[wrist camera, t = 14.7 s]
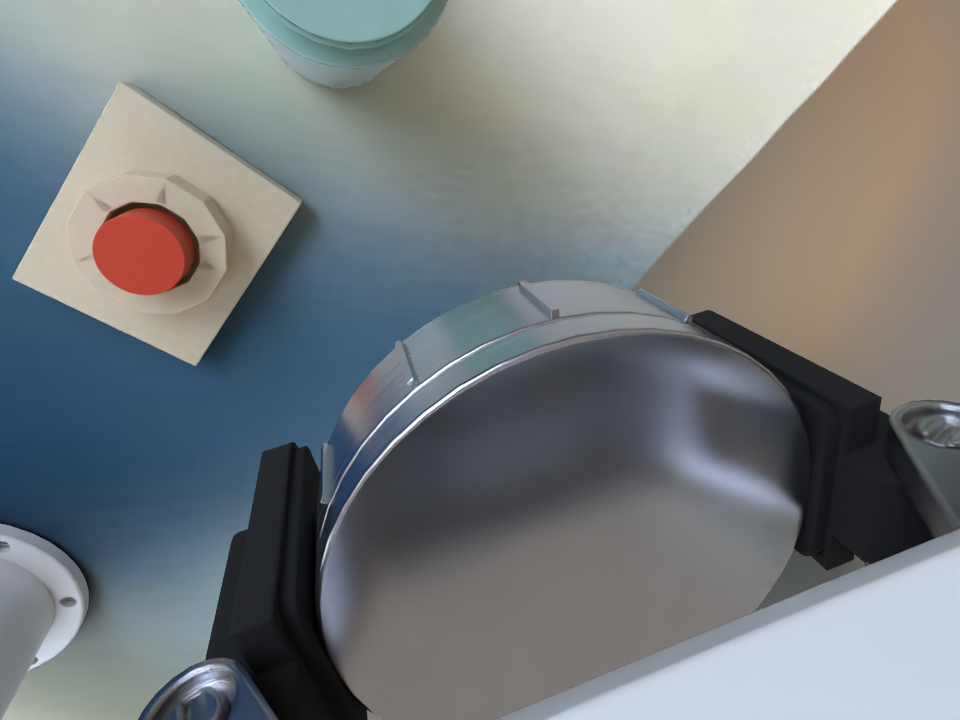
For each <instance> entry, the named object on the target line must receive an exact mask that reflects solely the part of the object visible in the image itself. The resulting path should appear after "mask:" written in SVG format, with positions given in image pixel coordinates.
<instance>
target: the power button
mask: <svg viewBox="0 0 960 720" xmlns="http://www.w3.org/2000/svg"><path fill="white" fill-rule="evenodd" d="M92 252H93V257H94V260H95V263H96V265H97V267H98V269H99V270H100V272H101V273H102V274H103V276H104V277H105V278H106V279H107V280H108V281H109V282H111V283H112V284H113V285H115V286H116V287H118V288H120V289H122V290H124V291H126V292H129V293H133V294H137V295H156V294H160V293H163V292H166V291H168V290H170V289H171V288H173V287H174V286H175V285H176V284H177V283H178V282H179V281H180V280H181V279H182V277H183V276H184V275H185V274H186V273H187V272H188V270H189V269H190V268H191V266H192V264H193V260H194V255H195V249H194V244H193V240H192V238H191V236H190V234H189V232H188V231H187V229H186V228H185V227H184V226H183V225H182V224H181V223H180V222H179V221H178V220H177V219H176V218H174V217H173V216H171V215H169V214H167V213H165V212H163V211H160V210H156V209H151V208H137V209H132V210H130V211H127V212H125V213H123V214H121V215H119V216H116V217H114V218H112V219H110V220H109V221H107V222H106V223H104V224H103V225H102V226H101V227H100V228H99V229H98V231H97V232H96V234H95V236H94V240H93V245H92Z"/></svg>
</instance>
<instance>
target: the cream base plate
mask: <svg viewBox="0 0 960 720" xmlns="http://www.w3.org/2000/svg"><path fill="white" fill-rule="evenodd" d="M301 203H302V199H301V198H299V197H298V196H296V195H295V194H293V193H292V192H291V191H289V190H288V189H286V188H285V187H283V186H282V185H280V184H279V183H277V182H276V181H274V180H273V179H271V178H270V177H268V176H267V175H266V174H264V173H263V172H261V171H260V170H258V169H257V168H255V167H254V166H252V165H251V164H249V163H248V162H246V161H245V160H243V159H242V158H241V157H239V156H238V155H236V154H235V153H233V152H232V151H230V150H229V149H227V148H226V147H224V146H223V145H221V144H220V143H218V142H217V141H216V140H214V139H213V138H211V137H210V136H208V135H207V134H205V133H204V132H202V131H201V130H199V129H198V128H196V127H195V126H193V125H192V124H191V123H189V122H188V121H186V120H185V119H183V118H182V117H180V116H179V115H177V114H176V113H174V112H173V111H171V110H170V109H168V108H167V107H166V106H164V105H163V104H161V103H160V102H158V101H157V100H155V99H154V98H152V97H151V96H149V95H148V94H146V93H145V92H143V91H142V90H141V89H139V88H138V87H136V86H135V85H133V84H132V83H127V82H121V81H120V82H119V84H118V85H117V87H116V89H115V91H114V93H113V95H112V96H111V98H110V100H109V102H108V104H107V106H106V107H105V109H104V111H103V113H102V115H101V116H100V118H99V120H98V122H97V124H96V126H95V127H94V129H93V131H92V133H91V135H90V137H89V138H88V140H87V142H86V144H85V146H84V147H83V149H82V151H81V153H80V155H79V157H78V158H77V160H76V162H75V164H74V166H73V168H72V169H71V171H70V173H69V175H68V177H67V179H66V180H65V182H64V184H63V186H62V188H61V189H60V191H59V193H58V195H57V197H56V199H55V200H54V202H53V204H52V206H51V208H50V210H49V211H48V213H47V215H46V217H45V219H44V221H43V222H42V224H41V226H40V228H39V230H38V231H37V233H36V235H35V237H34V239H33V241H32V242H31V244H30V246H29V248H28V250H27V252H26V253H25V255H24V257H23V259H22V261H21V262H20V264H19V266H18V268H17V270H16V272H15V273H14V275H13V279H14V280H16V281H18V282H20V283H23V284H25V285H27V286H29V287H31V288H33V289H35V290H37V291H39V292H41V293H43V294H46V295H48V296H50V297H52V298H54V299H56V300H58V301H60V302H62V303H64V304H66V305H69V306H71V307H73V308H75V309H77V310H79V311H81V312H83V313H85V314H87V315H89V316H92V317H94V318H96V319H98V320H100V321H102V322H104V323H106V324H108V325H110V326H112V327H115V328H117V329H119V330H121V331H123V332H125V333H127V334H129V335H131V336H133V337H135V338H138V339H140V340H142V341H144V342H146V343H148V344H150V345H152V346H154V347H156V348H158V349H161V350H163V351H165V352H167V353H169V354H171V355H173V356H175V357H177V358H179V359H181V360H184V361H186V362H188V363H190V364H192V365H194V366H196V365H197V364H198V362H199V361H200V359H201V358H202V356H203V355H204V353H205V352H206V350H207V349H208V347H209V346H210V344H211V342H212V341H213V339H214V338H215V336H216V335H217V333H218V332H219V330H220V329H221V327H222V326H223V324H224V322H225V321H226V319H227V318H228V316H229V315H230V313H231V312H232V310H233V309H234V307H235V306H236V304H237V302H238V301H239V299H240V298H241V296H242V295H243V293H244V292H245V290H246V289H247V287H248V286H249V284H250V282H251V281H252V279H253V278H254V276H255V275H256V273H257V272H258V270H259V269H260V267H261V266H262V264H263V262H264V261H265V259H266V258H267V256H268V255H269V253H270V252H271V250H272V249H273V247H274V246H275V244H276V242H277V241H278V239H279V238H280V236H281V235H282V233H283V232H284V230H285V229H286V227H287V226H288V224H289V222H290V221H291V219H292V218H293V216H294V215H295V213H296V212H297V210H298V209H299V207H300V205H301ZM137 208H151V209H156V210H160V211H163V212H165V213H167V214H169V215H171V216H173V217H174V218H176V219H177V220H178V221H179V222H180V223H181V224H182V225H183V226H184V227H185V228H186V229H187V231H188V232H189V234H190V236H191V238H192V240H193V244H194V249H195V255H194V260H193V264H192V266H191V268H190V269H189V270H188V272H187V273H186V274H185V275H184V276H183V277H182V279H181V280H180V281H179V282H178V283H177V284H176V285H175V286H174V287H173V288H171V289H170V290H168V291H166V292H163V293H160V294H156V295H137V294H133V293H129V292H126V291H124V290H122V289H120V288H118V287H116V286H115V285H113V284H112V283H111V282H109V281H108V280H107V279H106V278H105V277H104V276H103V274H102V273H101V272H100V270H99V269H98V267H97V265H96V263H95V260H94V257H93V252H92V245H93V240H94V236H95V234H96V232H97V231H98V229H99V228H100V227H101V226H102V225H103V224H104V223H106V222H107V221H109V220H110V219H112V218H114V217H116V216H119V215H121V214H123V213H125V212H127V211H130V210H132V209H137Z"/></svg>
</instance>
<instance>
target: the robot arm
mask: <svg viewBox="0 0 960 720" xmlns="http://www.w3.org/2000/svg"><path fill="white" fill-rule="evenodd" d="M690 316H692V317H693V320H692V322H693V323H695V324H697V325H698V326H700V327H702V328H704V329H705V330H707V331H709V332H711V333H712V334H714V335H716V336H717V337H719V338H721V339H723V340H725V341H727V342H728V343H730V344H732V345H734V346H735V347H737V348H739V349H741V350H742V351H744V352H746V353H747V354H749V355H750V356H751V357H753V358H754V359H756V360H757V361H758V362H760V363H761V364H762V365H764V366H765V367H767V368H768V369H769V370H770V371H771V372H772V374H773V375H774V376H775V377H776V378H777V379H778V380H779V381H780V382H781V383H782V384H783V385H784V387H785V388H786V390H787V391H788V393H789V394H790V396H791V398H792V399H793V401H794V403H795V404H796V406H797V408H798V409H799V411H800V414H801V416H802V419H803V422H804V425H805V427H806V430H807V433H808V438H809V444H810V449H811V455H812V479H811V488H810V496H809V504H808V508H807V512H806V516H805V519H804V523H803V527H802V529H801V532H800V534H799V537H798V539H797V542H796V544H795V547H794V549H796V550H797V551H798V552H799V553H800V554H802V555H804V556H812V557H813V558H814V559H815V560H816V561H817V562H818V563H820V565H821V566H823V567H824V568H825V569H826V570H830V569H832V568H835V567H837V566H840V565H842V564H845V563H847V562H850V561H852V560H853V558H854V554H855V555H856V556H857V557H859V558H860V559H861V560H862V561H863V562H865V567H864V568H861V569H859V570H856V571H854V572H851V573H849V574H846V575H844V576H842V577H839V578H837V579H834V580H832V581H829V582H827V583H824V584H822V585H819V586H817V587H814V588H812V589H809V590H807V591H804V592H802V593H800V594H797V595H795V596H792V597H790V598H787V599H785V600H783V601H780V602H778V603H775V604H773V605H770V606H768V607H766V608H763V609H761V610H758V611H756V612H753V613H751V614H749V615H746V616H744V617H741V618H739V619H736V620H734V621H732V622H729V623H727V624H724V625H722V626H719V627H717V628H715V629H712V630H710V631H707V632H705V633H703V634H700V635H698V636H695V637H693V638H690V639H688V640H686V641H683V642H681V643H678V644H676V645H674V646H671V647H669V648H666V649H664V650H662V651H659V652H657V653H654V654H652V655H649V656H647V657H645V658H642V659H640V660H637V661H635V662H633V663H630V664H628V665H625V666H623V667H620V668H618V669H616V670H613V671H611V672H608V673H606V674H604V675H601V676H599V677H597V678H594V679H592V680H589V681H587V682H585V683H582V684H580V685H578V686H575V687H573V688H570V689H568V690H566V691H563V692H561V693H558V694H556V695H554V696H551V697H549V698H547V699H544V700H542V701H539V702H537V703H535V704H532V705H530V706H528V707H525V708H523V709H520V710H518V711H516V712H513V713H511V714H509V715H506V716H504V717H501V718H499V719H497V720H960V403H954V402H949V401H940V400H920V401H911V402H908V403H905V404H902V405H899V406H898V407H896V408H895V409H894V410H892V412H891V414H890V415H888V414H886V413H884V412H882V411H880V404H881V397H880V396H878V395H876V394H874V393H872V392H870V391H868V390H866V389H864V388H862V387H860V386H858V385H856V384H854V383H852V382H850V381H848V380H847V379H845V378H843V377H841V376H839V375H837V374H835V373H833V372H831V371H829V370H827V369H825V368H823V367H821V366H819V365H817V364H815V363H813V362H811V361H809V360H807V359H805V358H803V357H801V356H799V355H797V354H795V353H793V352H791V351H790V350H787V349H786V348H784V347H781V346H780V345H778V344H776V343H774V342H772V341H770V340H768V339H766V338H764V337H762V336H760V335H758V334H756V333H754V332H752V331H750V330H748V329H746V328H744V327H742V326H741V325H739V324H737V323H735V322H733V321H730V320H729V319H727V318H725V317H723V316H721V315H719V314H717V313H715V312H713V311H710V310H706V311H703V312H700V313H696V314H693V315H690ZM319 478H320V472H319V469H318V467H317V465H316V463H315V461H314V458H313V456H312V454H311V452H310V450H309V448H308V447H307V446H304V447H301V448H298V447H297V445H296V444H295V443H294V442H292V443H289V444H285V445H282V446H279V447H276V448H273V449H270V450H267V451H264V452H263V453H262V457H261V462H260V468H259V473H258V478H257V484H256V489H255V494H254V500H253V505H252V510H251V516H250V521H249V526H248V529H247V530H244V531H241V532H238V533H237V534H235V535H234V537H233V539H232V542H231V546H230V551H229V555H228V560H227V564H226V569H225V573H224V578H223V582H222V587H221V591H220V596H219V601H218V605H217V610H216V614H215V619H214V623H213V628H212V632H211V637H210V641H209V646H208V650H207V655H206V659H205V661H203V662H200V663H198V664H195V665H193V666H191V667H189V668H187V669H186V670H184V671H183V672H181V673H180V674H178V675H177V676H175V677H174V678H172V679H171V680H170V681H169V682H168V683H167V684H166V685H165V686H164V687H163V688H162V689H161V690H160V691H158V692H157V693H156V695H155V696H154V697H153V698H152V700H151V701H150V702H149V704H148V705H147V706H146V707H145V709H144V710H143V711H142V713H141V715H140V717H139V719H138V720H367V709H366V708H365V707H364V706H363V705H362V704H360V703H359V702H358V701H357V700H356V699H355V698H354V697H352V695H351V694H350V693H349V692H348V690H347V689H346V688H345V687H344V685H343V684H342V683H341V681H340V679H339V677H338V676H337V674H336V672H335V670H334V668H333V667H332V665H331V663H330V661H329V659H328V657H327V656H326V654H325V651H324V648H323V645H322V642H321V639H320V635H319V631H318V628H317V616H316V603H315V586H316V542H317V498H318V488H319ZM88 607H89V591H88V587H87V583H86V579H85V578H84V576H83V574H82V573H81V571H80V569H79V567H78V566H77V565H76V564H75V563H74V562H73V561H72V559H71V558H70V557H69V556H68V555H67V554H66V553H64V552H63V551H62V550H60V549H59V548H58V547H56V546H55V545H53V544H52V543H51V542H49V541H47V540H45V539H43V538H41V537H39V536H37V535H35V534H33V533H30V532H27V531H24V530H21V529H18V528H15V527H12V526H9V525H4V524H0V720H2V718H3V716H4V714H5V712H6V710H7V709H8V707H9V705H10V703H11V701H12V699H13V697H14V695H15V694H16V692H17V690H18V688H19V686H20V684H21V682H22V680H23V679H24V677H25V675H26V673H27V671H28V670H30V669H32V668H35V667H37V666H39V665H41V664H43V663H44V662H46V661H48V660H50V659H52V658H53V657H54V656H56V655H57V654H58V653H59V652H61V651H62V650H63V649H65V648H66V647H67V645H68V644H69V643H70V642H71V641H72V640H73V638H74V637H75V636H76V634H77V632H78V630H79V628H80V626H81V625H82V623H83V621H84V618H85V615H86V612H87V610H88Z"/></svg>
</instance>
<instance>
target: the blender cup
mask: <svg viewBox="0 0 960 720" xmlns="http://www.w3.org/2000/svg"><path fill="white" fill-rule="evenodd" d="M239 1H240V3H241V4H242V5H243V7H244V8H245V10H246V11H247V12H248V14H249V15H250V16H251V18H252V19H253V21H254V22H255V23H256V25H257V26H258V27H259V29H260V30H261V32H262V33H263V34H264V36H265V37H266V38H267V40H268V41H269V43H270V44H271V45H272V47H273V48H274V49H275V51H276V52H277V53H278V55H279V56H280V57H281V58H282V60H283V61H284V62H285V63H286V64H287V65H288V66H289V67H290V68H291V69H293V70H294V71H295V72H296V73H298V74H299V75H300V76H302V77H303V78H305V79H307V80H309V81H311V82H313V83H316V84H318V85H321V86H325V87H329V88H338V89H341V88H351V87H356V86H359V85H362V84H365V83H367V82H368V81H370V80H372V79H373V78H375V77H376V76H377V75H379V74H380V73H381V72H383V71H384V70H385V69H387V68H388V67H389V66H391V65H392V64H393V63H394V62H396V61H397V60H398V59H400V58H401V57H402V56H404V55H405V54H406V53H408V52H409V51H410V50H411V49H413V48H414V47H415V46H417V45H418V44H419V43H420V42H421V41H422V40H423V39H424V38H425V37H426V36H427V35H428V33H429V32H430V31H431V29H432V28H433V27H434V25H435V24H436V23H437V21H438V19H439V18H440V16H441V14H442V12H443V11H444V9H445V6H446V4H447V2H448V0H239Z"/></svg>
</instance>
